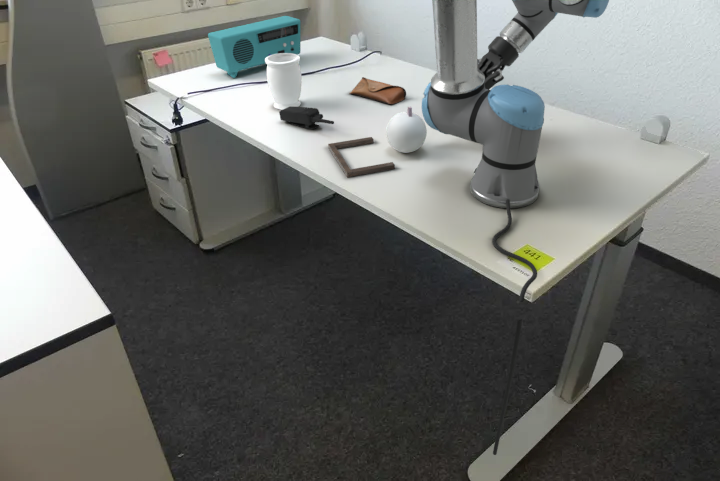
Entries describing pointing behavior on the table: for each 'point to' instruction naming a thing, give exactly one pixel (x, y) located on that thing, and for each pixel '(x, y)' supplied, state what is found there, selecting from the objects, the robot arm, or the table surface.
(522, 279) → the table surface
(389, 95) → the sunglasses case
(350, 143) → the bay
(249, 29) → the radio
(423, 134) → the ornament
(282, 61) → the jar
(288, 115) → the walkie-talkie
